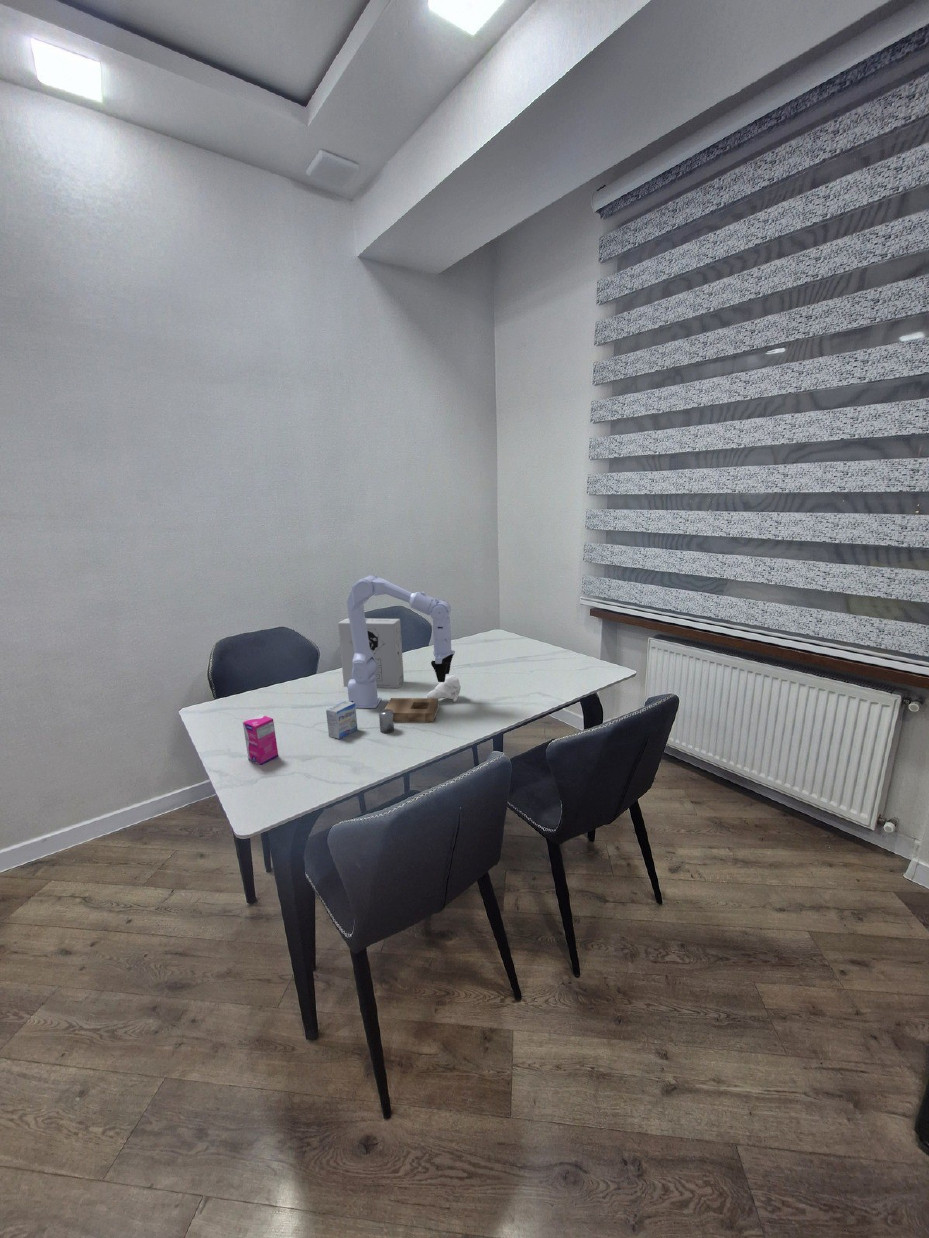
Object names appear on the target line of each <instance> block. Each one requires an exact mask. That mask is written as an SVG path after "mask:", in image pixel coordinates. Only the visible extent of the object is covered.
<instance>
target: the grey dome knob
mask: <svg viewBox="0 0 929 1238" xmlns="http://www.w3.org/2000/svg"><path fill="white" fill-rule="evenodd" d="M378 718H379V730H380V731H379V732H380V733H381V734H392V733H393V732H394V731H395V722H394V719H393V710H390V709H385V708H384V709H381V710H379V712H378Z"/></svg>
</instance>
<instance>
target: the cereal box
mask: <svg viewBox="0 0 929 1238" xmlns="http://www.w3.org/2000/svg"><path fill="white" fill-rule="evenodd" d="M365 619H366V626H367V632H368V639H369V646H370V650H371V652H372V653H373V655H374V659H375V660H376V662H377V664H378V667H377V670H376V671H375V675H376V682H377V689H378V688H379V689H383V688H384V689H399V688H400V686H401V685H402V684H403V683H404V682H405V677H404V676H405V675H404V661H403V647H402V646H403V645H402V643H403V642H402V630H401V629H402V628H401V619H400V618H373V617H372V618H371V617H370V618H367V617H365ZM337 626H338V636H339V647H340V657H341V659H340V660H341V668H342V679H343V682H342V683H343V687H348V683H349V681H350V679H353V677H352V674H351V671H352V668H353V663H352V662H353V658H354V654H355V653H354V647H353V641H352V634H351V628H350V621H349V617H348V618H344V619H342V620H340V621H338V623H337Z"/></svg>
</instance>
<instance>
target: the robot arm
mask: <svg viewBox="0 0 929 1238" xmlns="http://www.w3.org/2000/svg"><path fill="white" fill-rule="evenodd" d="M381 595H383V596H384V595H386V596H387V595H388V596H390V597H392V598H396V599H398V600H401V601H403V602H406V603H408V604H409V607H410V608H411V609H413V610H416V611H417V612H420V613H423V614H425V615H427V616H430V617H431V619H432V633H433V634H432V636H433V656H434V660H431V662H430V665H431V667H432V668H433V670H434V673H435V676H436V680H437V682H438V683H440V682H445V677H447V675H450V672H451V671H450V670H451V666H452V660H453V658H454V655H455V654H456V651H455V650H452V634H451V632H452V630H451V617H450V614H451V611H452V606H451V604H450V603H449V602H447V601H446V600H444V599H439V598H437V597H436V598H434V597H432V596H430V595H427V594H426V592H425V591H423V590H422V591H421V592H420V591H417V592H414V593H412V592H411V591H409V590H407V589H405V588H402V587H401V586H399V585H397V584H394V583H392V582H391V581H388V580H386V579H385V578H382V577H377V576H376V575H374V574H373V575H372V574H369V575H366V576H365V577H363V578H360V579H358V580H357V581H355V583H354V584H352V585H351V589H350V592H349V595H348V597H347V600H346V606H347V607H346V608H347V614H348V618H349V621H350V628H351V634H352V641H353V647H354V653H355V654H354V658H353V662H352V663H353V668H352V671H351V674H352V677H353V679H350V681H349V683H348V686H347V696H348V701H349V702H352V703H355V706H356V709H359V708H360V709H376V708H377V707H378V705H379V703H380V702H381V701H382V697H379V696H378V688H377V682H376V675H375V671H376V670H377V667H378V664H377V662H376V660H375V659H374V655H373V653H372V652H371V650H370V646H369V639H368V632H367V626H366V619H365V618H366V613H365V606H364V605H365V604H366V603H367V601H368V600H370V598H371V597H372V596H375V597H377V596H381Z"/></svg>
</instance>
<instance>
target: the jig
mask: <svg viewBox="0 0 929 1238" xmlns="http://www.w3.org/2000/svg"><path fill="white" fill-rule="evenodd" d="M384 709H390V710H393V719H394V723H397V722H398V723H433V722H434V720H435V717H436V715H437V712H438V710H439V699H438V698H422V697H421V698H418V697H416V698H415V697H411V698H410V697H408V698H407V697H400V698H399V697H391V698H390V699H389V700H388V703H387V704H386V706H385V708H384Z"/></svg>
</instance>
